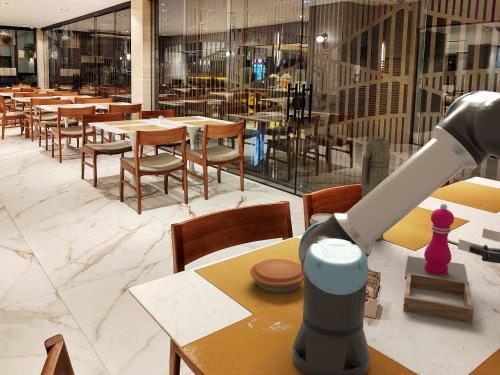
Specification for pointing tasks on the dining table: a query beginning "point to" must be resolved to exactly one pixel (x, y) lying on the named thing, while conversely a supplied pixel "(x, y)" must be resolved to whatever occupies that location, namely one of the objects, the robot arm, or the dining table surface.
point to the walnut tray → (438, 307)
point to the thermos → (375, 165)
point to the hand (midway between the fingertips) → (471, 237)
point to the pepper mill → (439, 242)
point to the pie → (277, 275)
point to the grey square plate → (418, 267)
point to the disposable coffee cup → (319, 218)
